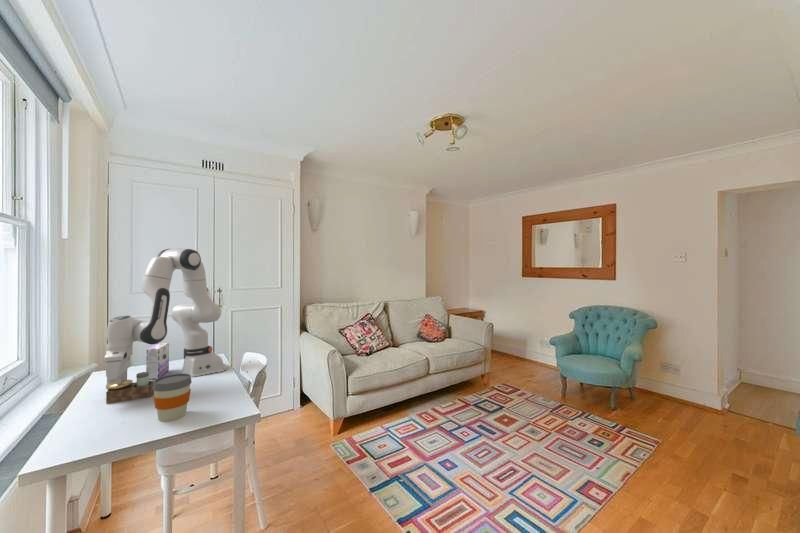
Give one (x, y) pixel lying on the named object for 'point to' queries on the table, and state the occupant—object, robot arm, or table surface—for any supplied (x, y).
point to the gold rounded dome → (117, 386)
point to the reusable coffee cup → (171, 396)
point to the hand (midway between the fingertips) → (119, 383)
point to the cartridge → (142, 379)
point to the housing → (129, 392)
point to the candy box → (157, 360)
